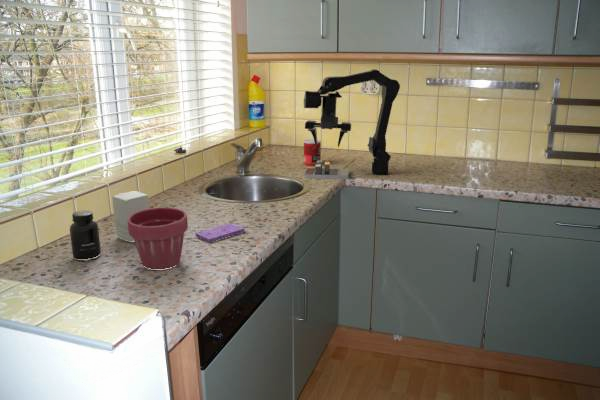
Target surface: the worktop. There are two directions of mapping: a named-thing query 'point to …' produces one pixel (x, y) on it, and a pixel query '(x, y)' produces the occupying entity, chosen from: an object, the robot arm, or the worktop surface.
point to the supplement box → (127, 210)
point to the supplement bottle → (84, 235)
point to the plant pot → (158, 235)
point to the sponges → (219, 232)
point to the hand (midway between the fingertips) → (327, 146)
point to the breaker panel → (321, 173)
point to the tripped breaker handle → (327, 166)
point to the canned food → (312, 152)
